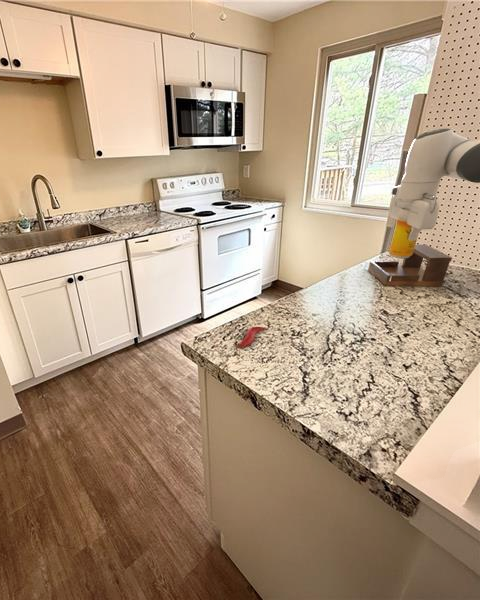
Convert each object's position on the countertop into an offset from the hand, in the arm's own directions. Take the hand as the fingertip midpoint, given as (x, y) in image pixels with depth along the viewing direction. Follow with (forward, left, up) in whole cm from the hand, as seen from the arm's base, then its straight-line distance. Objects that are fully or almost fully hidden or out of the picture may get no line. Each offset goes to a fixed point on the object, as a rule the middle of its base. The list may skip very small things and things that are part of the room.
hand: (404, 237), depth 98 cm
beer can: (0, 0, -6) cm, 6 cm away
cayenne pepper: (+49, +42, -14) cm, 66 cm away
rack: (-3, 0, -14) cm, 14 cm away
